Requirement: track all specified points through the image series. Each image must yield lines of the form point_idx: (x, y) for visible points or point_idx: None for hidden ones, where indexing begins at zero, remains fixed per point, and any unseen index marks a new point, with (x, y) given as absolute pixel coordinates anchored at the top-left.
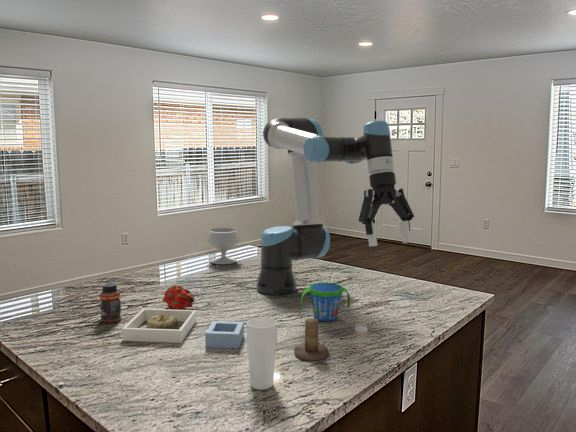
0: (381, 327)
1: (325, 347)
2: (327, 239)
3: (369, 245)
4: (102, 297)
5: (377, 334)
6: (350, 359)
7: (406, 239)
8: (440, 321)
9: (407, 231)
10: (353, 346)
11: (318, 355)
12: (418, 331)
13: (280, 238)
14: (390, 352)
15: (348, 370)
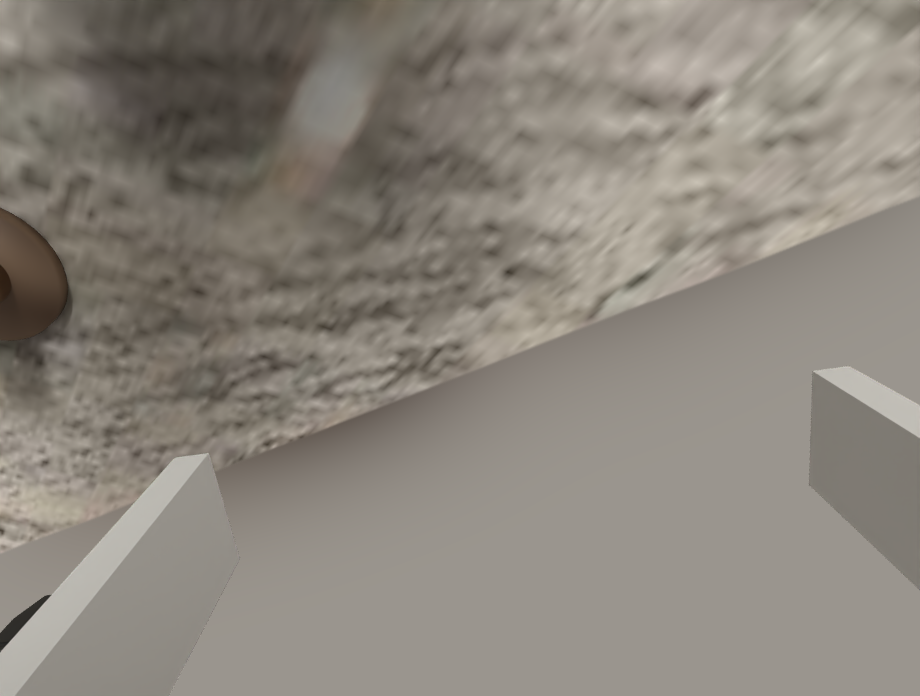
0: (445, 138)
1: (50, 279)
2: None
3: (171, 472)
4: None
5: (372, 208)
6: (145, 364)
7: (836, 466)
8: (785, 194)
9: (913, 576)
10: (200, 276)
11: (5, 330)
12: (578, 254)
13: None
14: (324, 371)
15: (111, 422)
